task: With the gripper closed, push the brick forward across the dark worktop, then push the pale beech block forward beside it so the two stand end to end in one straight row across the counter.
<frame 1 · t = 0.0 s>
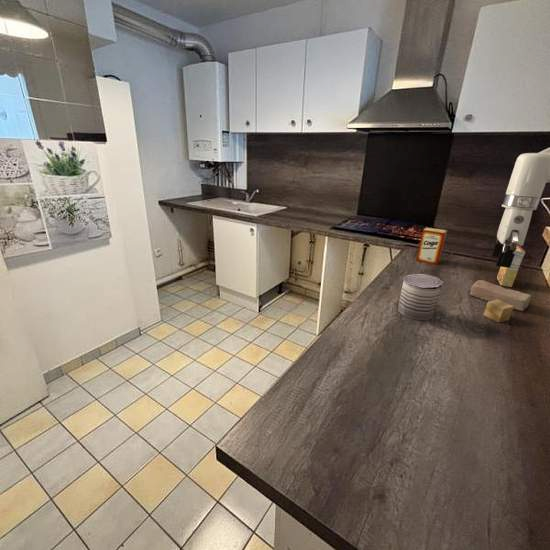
hand: (500, 261, 85), 20 cm above the worktop, tool pointing down, fingers open, 9 cm apart
brick: (497, 300, 106), on the worktop
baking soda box: (427, 261, 145), on the worktop
beech block: (495, 317, 95), on the worktop
candy box: (504, 283, 122), on the worktop
can: (414, 312, 98), on the worktop
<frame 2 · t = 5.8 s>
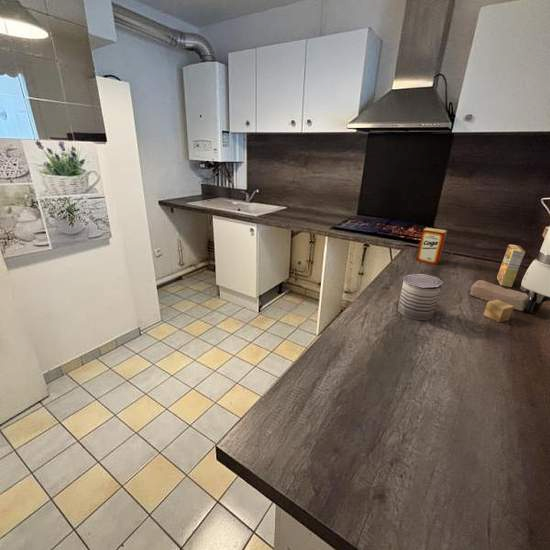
hand: (531, 311, 97), 1 cm above the worktop, tool pointing down, fingers closed
brick: (497, 300, 106), on the worktop, touching gripper
everything else where it was.
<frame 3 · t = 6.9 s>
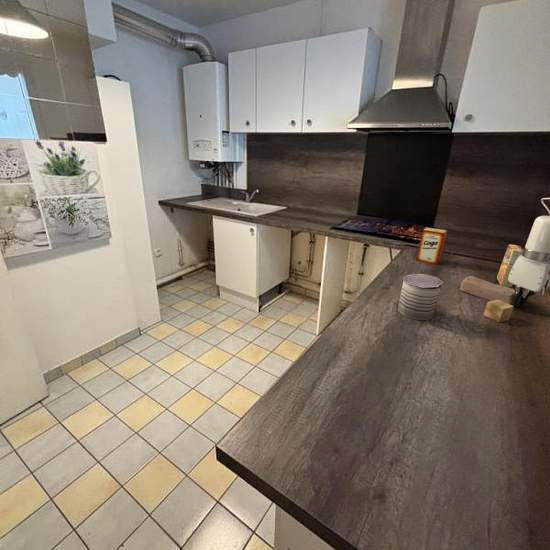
hand: (518, 305, 101), 1 cm above the worktop, tool pointing down, fingers closed
brick: (486, 295, 110), on the worktop, touching gripper
everything else where it was.
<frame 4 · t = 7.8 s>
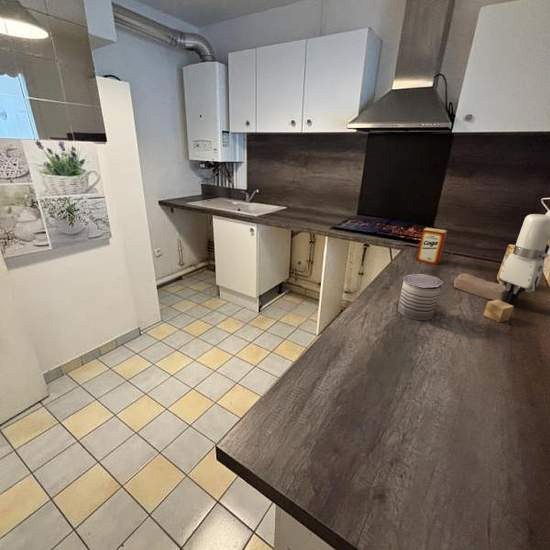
hand: (509, 301, 103), 1 cm above the worktop, tool pointing down, fingers closed
brick: (479, 292, 113), on the worktop, touching gripper
everything else where it was.
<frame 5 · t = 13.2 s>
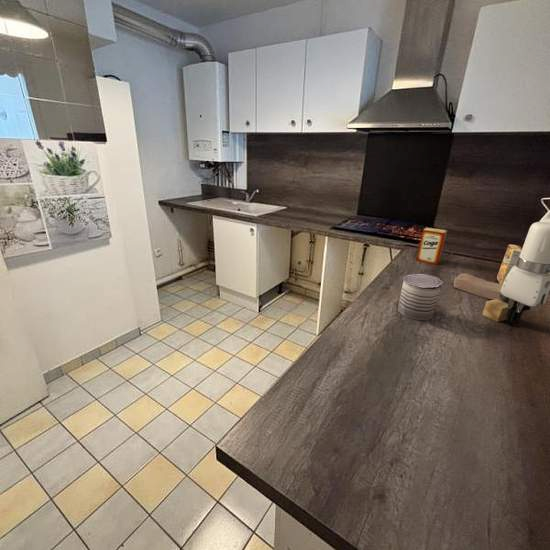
hand: (511, 320, 91), 1 cm above the worktop, tool pointing down, fingers closed
brick: (478, 292, 113), on the worktop
beech block: (494, 316, 95), on the worktop, touching gripper
everything else where it was.
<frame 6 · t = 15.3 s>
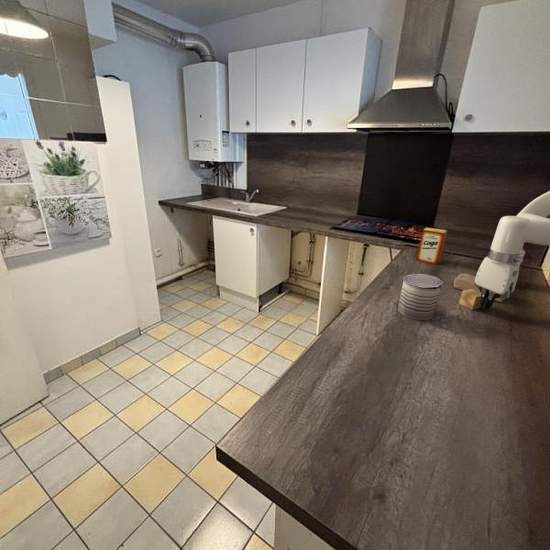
hand: (484, 308, 98), 2 cm above the worktop, tool pointing down, fingers closed
beech block: (470, 305, 102), on the worktop, touching gripper
everything else where it was.
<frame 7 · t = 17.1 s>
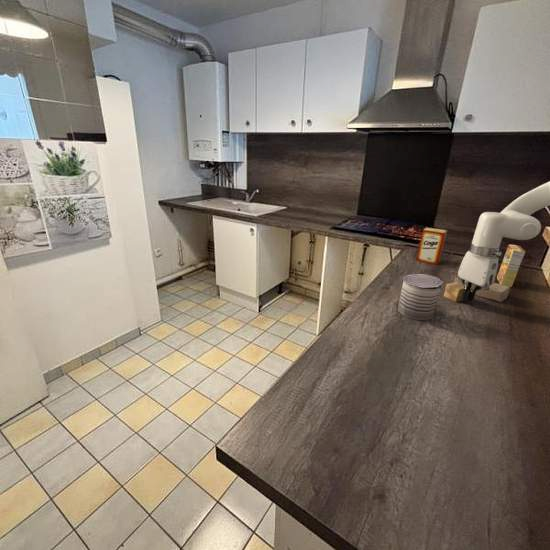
hand: (467, 299, 103), 2 cm above the worktop, tool pointing down, fingers closed
beech block: (454, 297, 108), on the worktop, touching gripper
everything else where it was.
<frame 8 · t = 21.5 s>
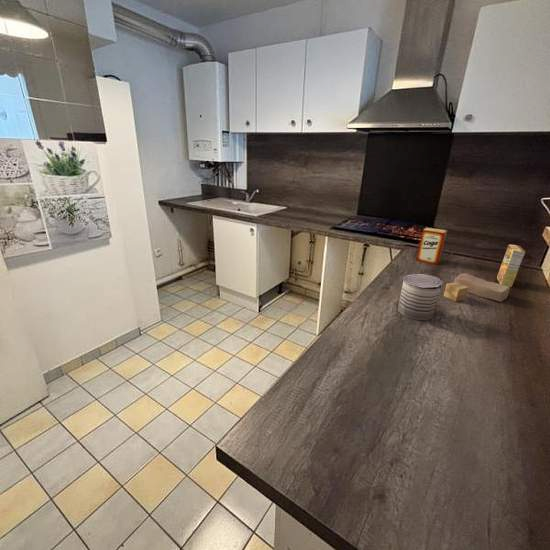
beech block: (454, 297, 108), on the worktop
everything else where it was.
at the end: brick 0.3 cm from the target spot, on the worktop; beech block inside the target area on the worktop beside the brick (0.5 cm from its centre), on the worktop; brick tilted 2° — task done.
